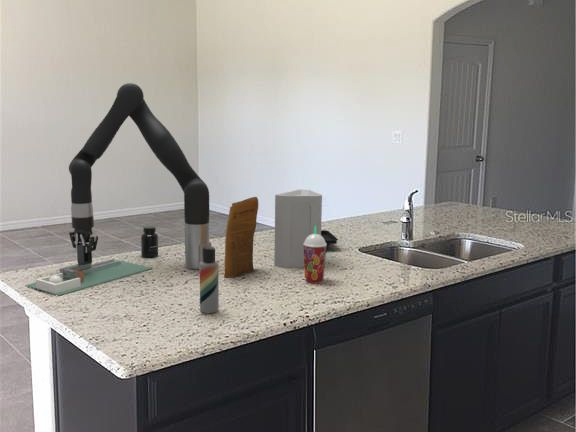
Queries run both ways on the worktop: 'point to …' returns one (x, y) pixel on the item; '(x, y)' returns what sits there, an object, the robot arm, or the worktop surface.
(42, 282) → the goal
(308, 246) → the smoothie
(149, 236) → the supplement bottle
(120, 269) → the field
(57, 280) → the ball
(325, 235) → the tray
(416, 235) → the worktop surface
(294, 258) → the paper bag
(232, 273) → the pancake mix bag
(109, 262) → the rail
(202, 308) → the lotion bottle
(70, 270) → the block
